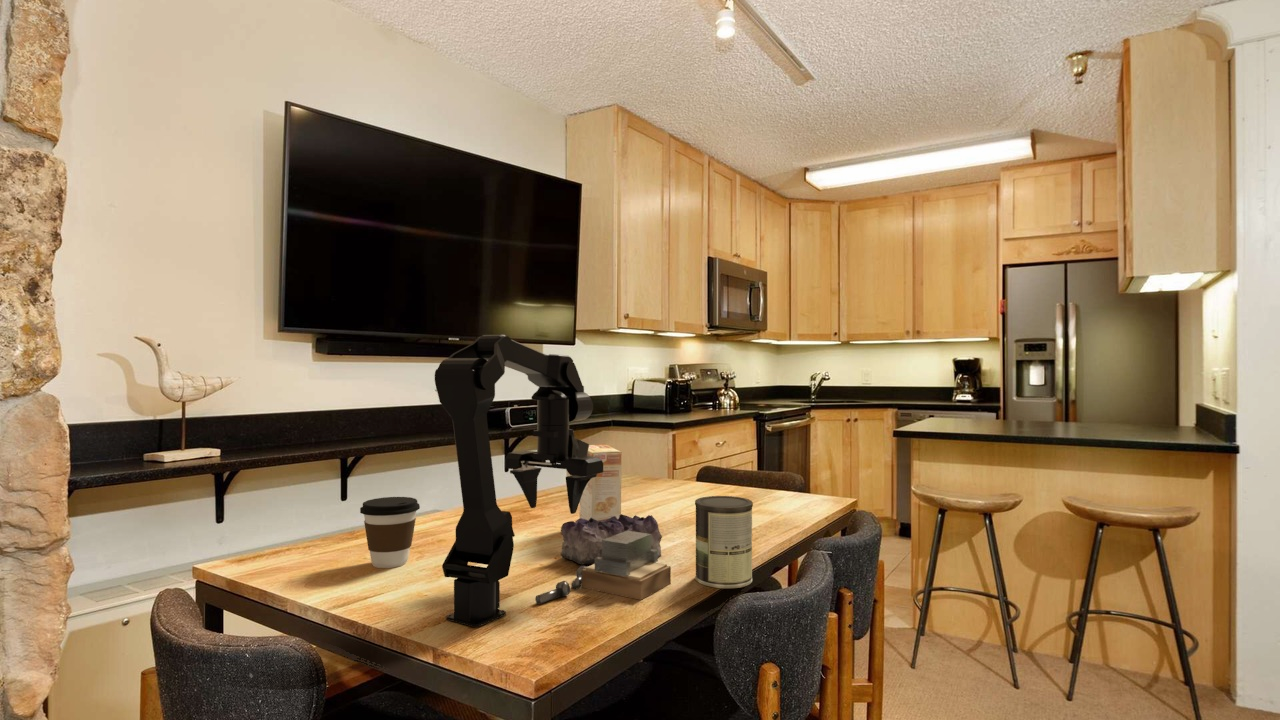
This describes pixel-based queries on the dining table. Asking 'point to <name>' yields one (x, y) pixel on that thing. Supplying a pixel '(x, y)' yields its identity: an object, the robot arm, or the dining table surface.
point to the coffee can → (724, 541)
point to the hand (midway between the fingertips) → (552, 510)
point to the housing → (625, 553)
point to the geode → (603, 535)
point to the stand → (629, 580)
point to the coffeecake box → (603, 486)
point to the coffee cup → (389, 529)
